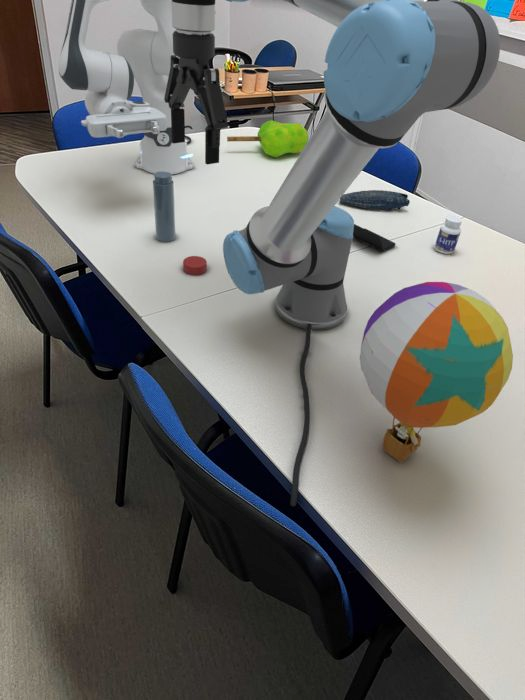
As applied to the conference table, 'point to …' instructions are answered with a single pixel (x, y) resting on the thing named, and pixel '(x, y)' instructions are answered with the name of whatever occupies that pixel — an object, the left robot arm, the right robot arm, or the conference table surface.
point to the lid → (194, 265)
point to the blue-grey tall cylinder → (164, 206)
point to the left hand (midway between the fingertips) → (139, 132)
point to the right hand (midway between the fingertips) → (194, 152)
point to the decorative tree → (278, 138)
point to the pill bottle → (448, 235)
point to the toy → (434, 359)
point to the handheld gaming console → (372, 239)
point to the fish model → (376, 199)
